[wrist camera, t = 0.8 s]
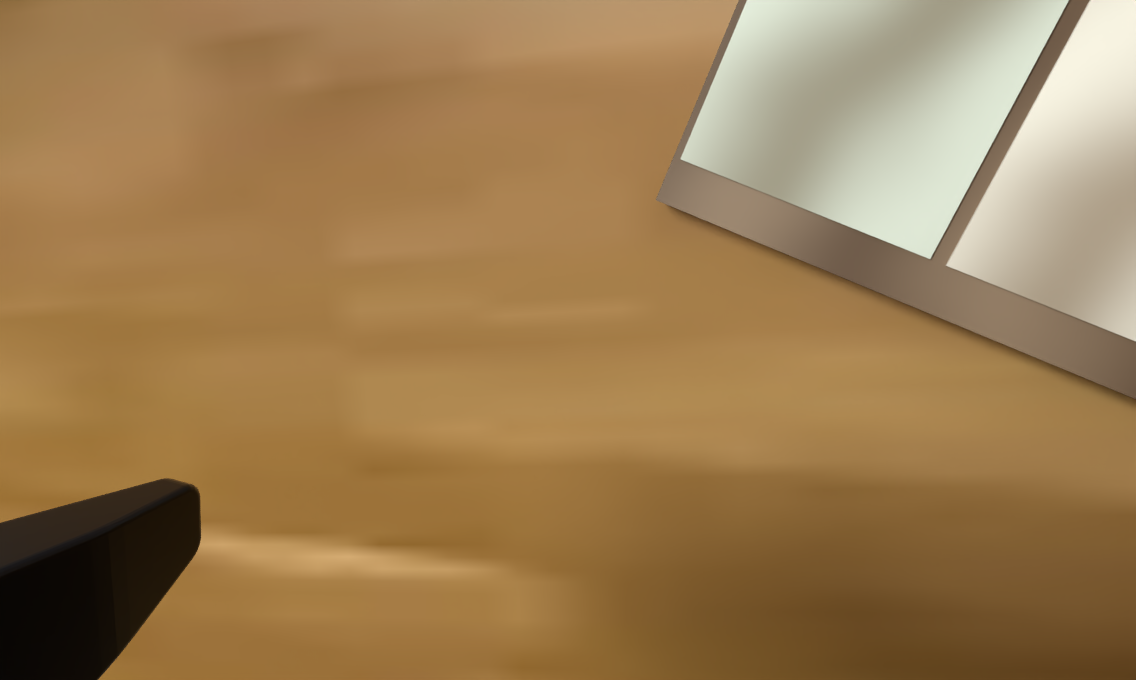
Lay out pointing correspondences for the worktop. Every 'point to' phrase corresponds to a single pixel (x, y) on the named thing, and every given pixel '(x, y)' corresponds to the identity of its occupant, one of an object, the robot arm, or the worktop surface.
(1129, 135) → the board
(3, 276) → the worktop surface
